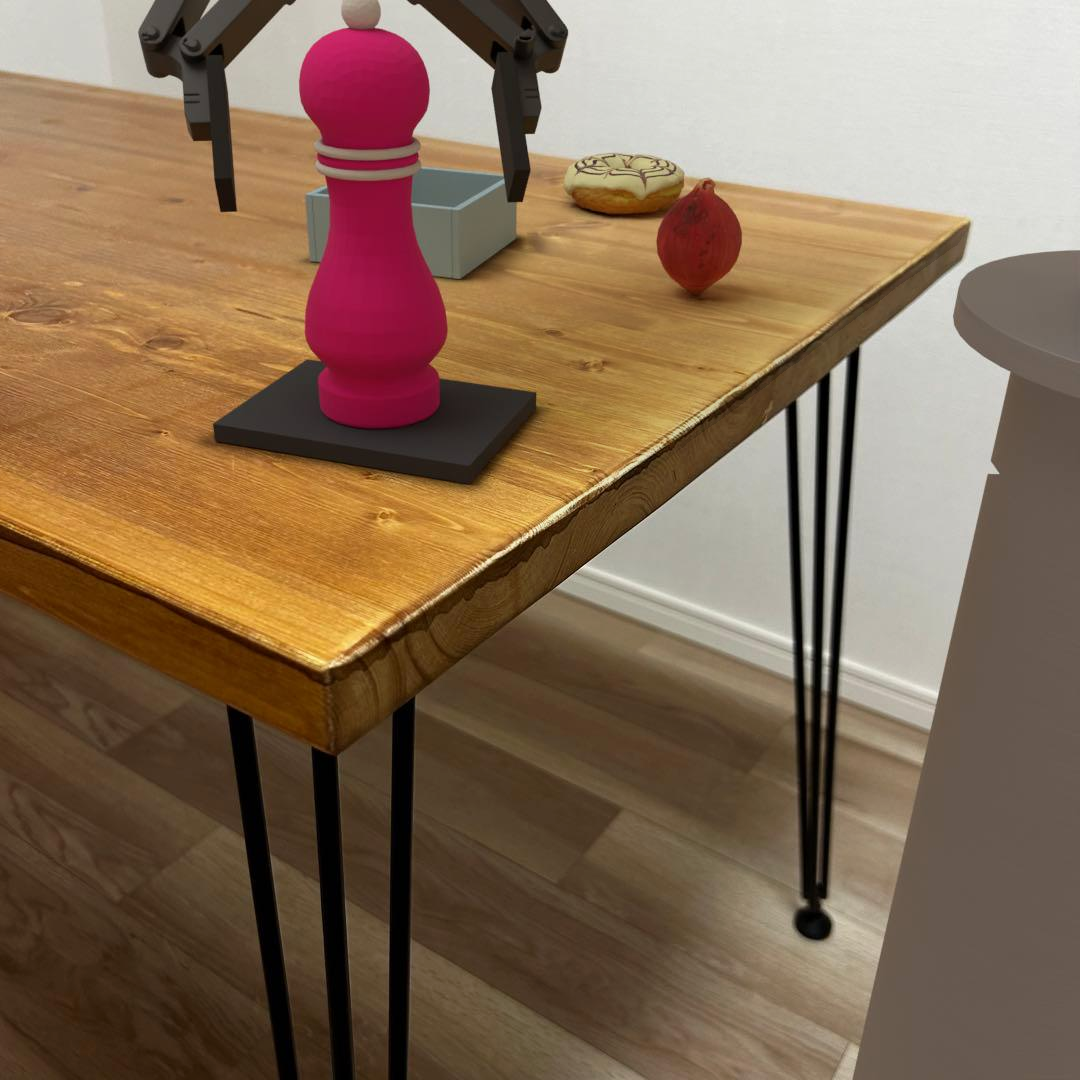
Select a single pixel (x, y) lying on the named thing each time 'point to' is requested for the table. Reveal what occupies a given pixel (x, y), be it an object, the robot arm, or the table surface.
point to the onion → (699, 239)
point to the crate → (440, 219)
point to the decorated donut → (624, 183)
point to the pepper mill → (371, 228)
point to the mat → (420, 449)
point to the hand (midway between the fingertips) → (375, 192)
